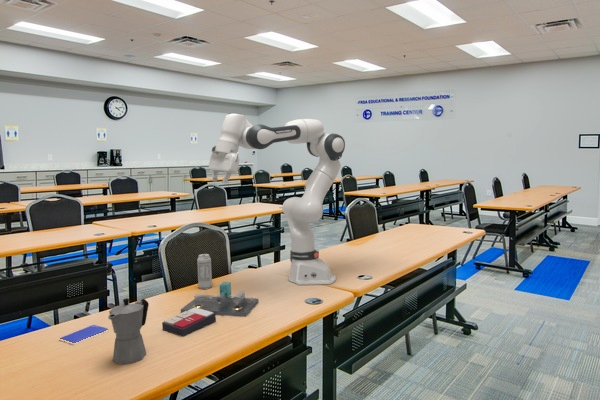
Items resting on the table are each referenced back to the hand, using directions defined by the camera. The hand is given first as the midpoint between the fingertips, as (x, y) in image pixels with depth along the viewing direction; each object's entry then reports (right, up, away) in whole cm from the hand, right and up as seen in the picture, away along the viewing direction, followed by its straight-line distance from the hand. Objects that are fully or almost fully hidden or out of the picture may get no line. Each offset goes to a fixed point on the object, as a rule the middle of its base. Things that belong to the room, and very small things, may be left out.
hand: (219, 182), depth 179 cm
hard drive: (-39, -54, -34) cm, 75 cm away
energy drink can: (-9, -47, +16) cm, 51 cm away
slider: (+4, -48, -10) cm, 49 cm away
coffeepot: (-17, -54, -50) cm, 76 cm away
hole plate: (+3, -50, -10) cm, 51 cm away
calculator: (-5, -52, -28) cm, 59 cm away
